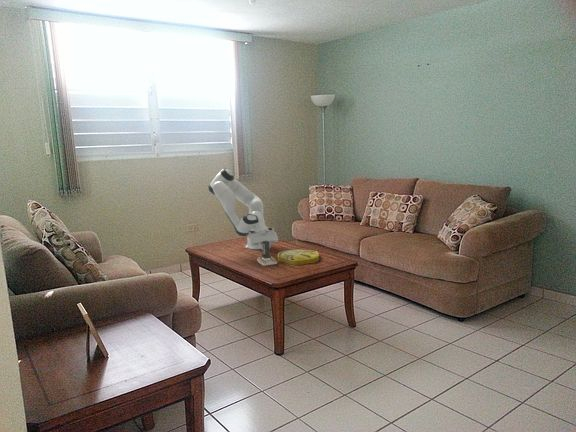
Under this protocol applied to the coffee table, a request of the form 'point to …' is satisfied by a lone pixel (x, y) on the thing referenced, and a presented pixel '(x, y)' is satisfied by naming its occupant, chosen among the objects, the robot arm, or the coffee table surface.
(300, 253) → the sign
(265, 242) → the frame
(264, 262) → the display stand
